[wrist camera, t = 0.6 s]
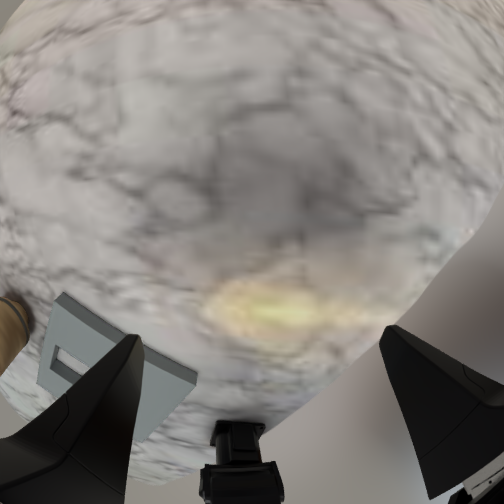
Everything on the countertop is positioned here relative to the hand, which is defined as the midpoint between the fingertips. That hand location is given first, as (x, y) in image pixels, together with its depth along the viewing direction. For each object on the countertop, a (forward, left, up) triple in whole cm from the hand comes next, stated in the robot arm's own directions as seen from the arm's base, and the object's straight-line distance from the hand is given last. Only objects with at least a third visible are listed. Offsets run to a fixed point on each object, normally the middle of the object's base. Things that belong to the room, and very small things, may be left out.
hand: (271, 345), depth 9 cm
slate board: (-20, +12, -15) cm, 27 cm away
